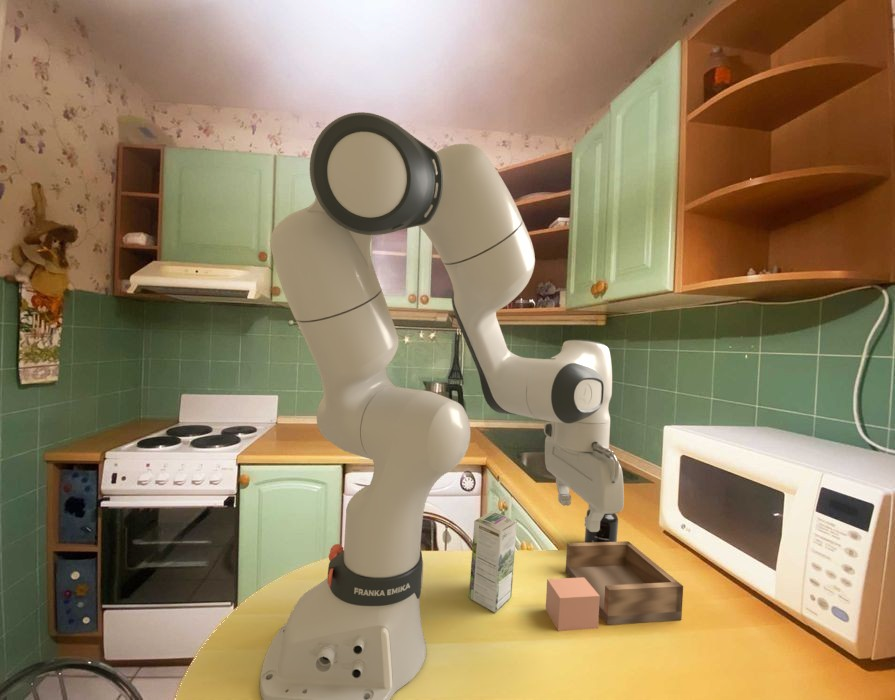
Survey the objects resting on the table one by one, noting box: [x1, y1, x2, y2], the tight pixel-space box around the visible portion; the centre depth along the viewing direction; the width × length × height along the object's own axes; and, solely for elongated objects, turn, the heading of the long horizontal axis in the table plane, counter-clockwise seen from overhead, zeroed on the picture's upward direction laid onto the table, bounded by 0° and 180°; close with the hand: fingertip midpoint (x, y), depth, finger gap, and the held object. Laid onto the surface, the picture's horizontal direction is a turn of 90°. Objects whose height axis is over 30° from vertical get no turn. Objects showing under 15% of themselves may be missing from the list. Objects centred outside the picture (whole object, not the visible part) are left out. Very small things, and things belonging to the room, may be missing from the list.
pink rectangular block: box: [545, 577, 600, 632], centre depth 64 cm, size 7×5×6 cm
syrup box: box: [468, 511, 517, 613], centre depth 68 cm, size 6×6×14 cm
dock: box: [565, 540, 684, 626], centre depth 71 cm, size 14×15×6 cm
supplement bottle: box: [583, 509, 619, 543], centre depth 86 cm, size 7×7×12 cm
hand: (577, 515), depth 64 cm, fingers open, 8 cm apart
